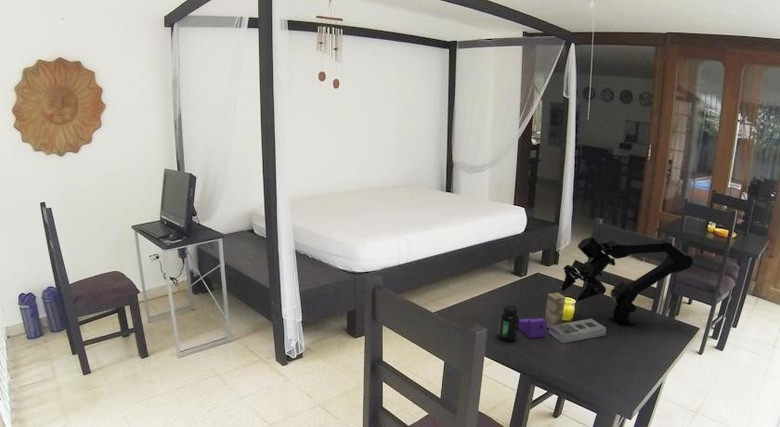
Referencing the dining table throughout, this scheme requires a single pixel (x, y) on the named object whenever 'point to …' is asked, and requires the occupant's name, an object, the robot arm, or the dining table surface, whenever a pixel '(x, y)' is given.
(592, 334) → the grey flat block
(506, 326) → the supplement bottle
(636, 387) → the dining table surface
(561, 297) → the peg
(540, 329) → the bracket
